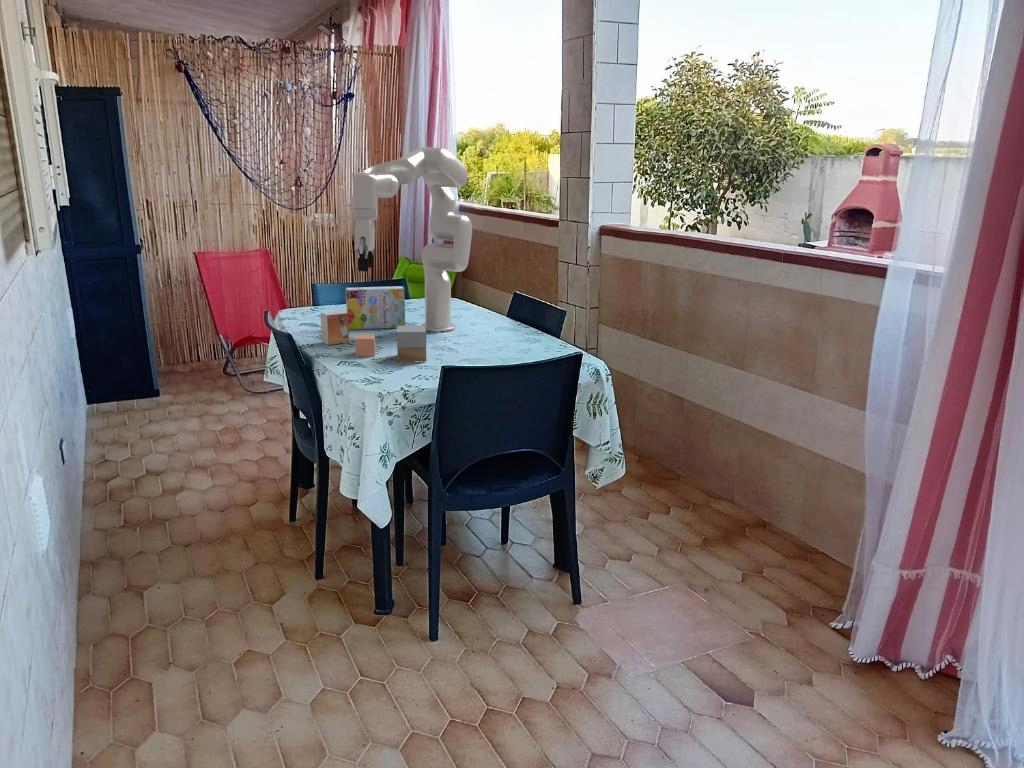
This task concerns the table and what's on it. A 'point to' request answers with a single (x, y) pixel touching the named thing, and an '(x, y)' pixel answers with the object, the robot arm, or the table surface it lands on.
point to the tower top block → (411, 336)
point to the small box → (335, 327)
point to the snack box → (375, 307)
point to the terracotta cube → (365, 344)
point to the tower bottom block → (411, 354)
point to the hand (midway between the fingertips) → (366, 269)
